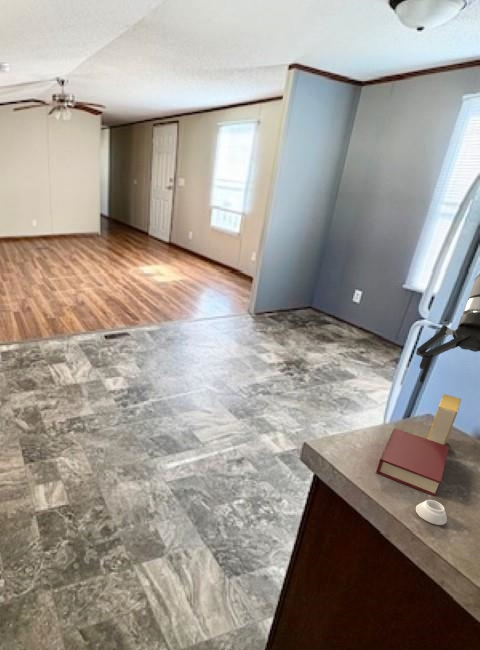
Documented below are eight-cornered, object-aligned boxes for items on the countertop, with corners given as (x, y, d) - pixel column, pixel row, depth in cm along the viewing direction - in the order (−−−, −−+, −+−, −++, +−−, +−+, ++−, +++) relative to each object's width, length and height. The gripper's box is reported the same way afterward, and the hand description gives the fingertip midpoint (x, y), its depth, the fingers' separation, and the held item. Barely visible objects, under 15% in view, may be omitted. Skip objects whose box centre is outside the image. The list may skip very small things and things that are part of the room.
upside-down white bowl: (435, 529, 82) (451, 521, 83) (440, 518, 80) (456, 510, 82) (409, 511, 86) (425, 503, 88) (413, 500, 85) (429, 493, 86)
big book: (389, 440, 107) (393, 427, 106) (443, 460, 100) (449, 446, 99) (375, 472, 96) (380, 458, 95) (435, 496, 90) (441, 481, 88)
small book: (445, 439, 108) (461, 398, 103) (441, 454, 102) (457, 412, 98) (428, 433, 110) (443, 393, 105) (423, 448, 105) (438, 406, 100)
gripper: (542, 337, 106) (517, 412, 101) (421, 314, 121) (395, 378, 117) (551, 323, 100) (526, 402, 96) (423, 300, 116) (397, 367, 112)
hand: (454, 389), depth 106 cm, fingers open, 13 cm apart
